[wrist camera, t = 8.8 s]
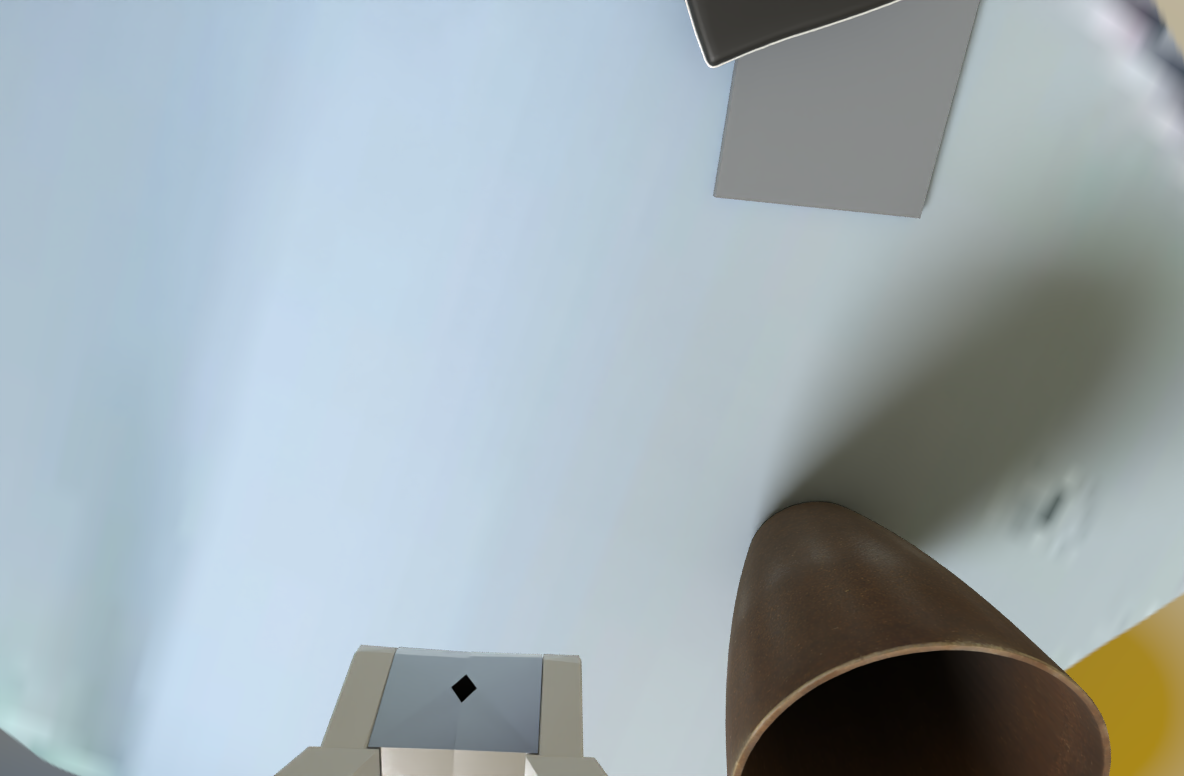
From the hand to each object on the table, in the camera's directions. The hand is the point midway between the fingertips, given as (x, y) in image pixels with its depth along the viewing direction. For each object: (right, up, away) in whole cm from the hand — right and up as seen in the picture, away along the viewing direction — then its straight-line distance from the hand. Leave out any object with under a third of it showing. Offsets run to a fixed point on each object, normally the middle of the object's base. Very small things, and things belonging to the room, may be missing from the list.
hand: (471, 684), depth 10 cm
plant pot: (+14, -6, +34) cm, 37 cm away
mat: (+13, +19, +23) cm, 33 cm away
